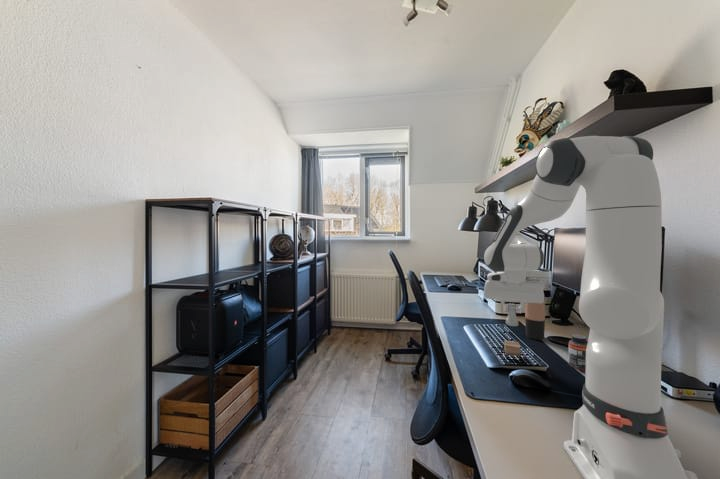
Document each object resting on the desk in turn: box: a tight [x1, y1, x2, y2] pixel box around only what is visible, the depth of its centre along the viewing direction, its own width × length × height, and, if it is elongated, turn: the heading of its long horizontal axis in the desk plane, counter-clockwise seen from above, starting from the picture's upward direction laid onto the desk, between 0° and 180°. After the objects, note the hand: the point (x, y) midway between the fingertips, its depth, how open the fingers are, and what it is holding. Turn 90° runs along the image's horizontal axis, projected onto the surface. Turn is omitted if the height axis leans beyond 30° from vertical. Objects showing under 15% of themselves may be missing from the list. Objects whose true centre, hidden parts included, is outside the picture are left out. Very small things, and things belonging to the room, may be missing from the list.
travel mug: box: [524, 295, 546, 341], centre depth 122 cm, size 8×8×20 cm
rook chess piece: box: [505, 302, 519, 327], centre depth 102 cm, size 4×4×8 cm
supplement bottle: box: [568, 333, 588, 372], centre depth 94 cm, size 6×6×11 cm
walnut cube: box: [503, 340, 522, 356], centre depth 102 cm, size 5×5×5 cm
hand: (512, 312), depth 102 cm, fingers closed on rook chess piece, 3 cm apart
